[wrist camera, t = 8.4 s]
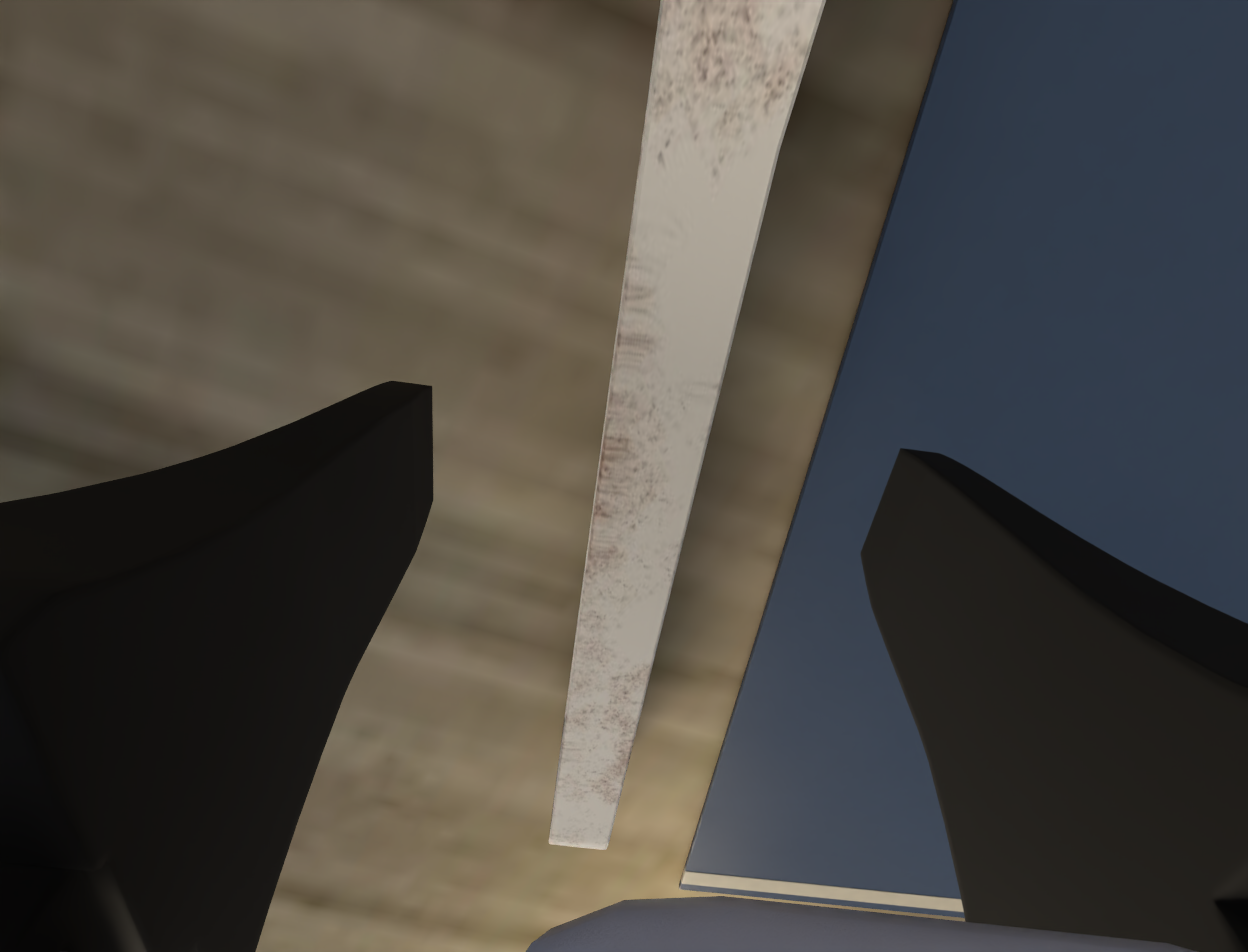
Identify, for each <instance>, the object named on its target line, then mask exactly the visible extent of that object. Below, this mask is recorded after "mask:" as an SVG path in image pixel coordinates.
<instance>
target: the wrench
mask: <svg viewBox="0 0 1248 952" xmlns="http://www.w3.org/2000/svg"><path fill="white" fill-rule="evenodd" d="M825 2H826V0H661V2H660V9H659V17H658V25H657V32H656V40H655V47H654V55H653V63H652V70H651V78H650V85H649V93H648V100H647V108H646V115H645V123H644V130H643V138H642V145H641V153H640V160H639V168H638V175H637V182H636V190H635V197H634V205H633V212H632V220H631V227H630V235H629V242H628V250H627V257H626V264H625V272H624V279H623V287H622V294H621V302H620V309H619V317H618V324H617V331H616V339H615V346H614V354H613V361H612V369H611V376H610V383H609V391H608V398H607V406H606V413H605V421H604V428H603V436H602V443H601V450H600V458H599V465H598V473H597V480H596V488H595V495H594V502H593V510H592V517H591V525H590V532H589V540H588V547H587V555H586V562H585V569H584V577H583V584H582V592H581V599H580V607H579V614H578V622H577V629H576V636H575V644H574V651H573V659H572V666H571V674H570V681H569V688H568V696H567V703H566V711H565V718H564V726H563V733H562V740H561V748H560V756H559V763H558V771H557V779H556V787H555V795H554V803H553V811H552V819H551V827H550V835H549V843H550V844H553V845H563V846H573V847H582V848H592V849H602V850H605V849H606V848H607V847H608V844H609V840H610V836H611V832H612V828H613V824H614V820H615V816H616V812H617V807H618V803H619V799H620V795H621V791H622V787H623V783H624V779H625V775H626V771H627V767H628V763H629V759H630V755H631V751H632V747H633V743H634V739H635V735H636V730H637V726H638V722H639V718H640V714H641V710H642V706H643V702H644V698H645V694H646V690H647V686H648V682H649V678H650V674H651V670H652V666H653V662H654V658H655V653H656V649H657V645H658V641H659V637H660V633H661V629H662V625H663V621H664V617H665V613H666V609H667V605H668V601H669V597H670V593H671V589H672V585H673V581H674V576H675V572H676V568H677V564H678V560H679V556H680V552H681V548H682V544H683V540H684V536H685V532H686V528H687V524H688V520H689V516H690V512H691V508H692V504H693V500H694V495H695V491H696V487H697V483H698V479H699V475H700V471H701V467H702V463H703V459H704V455H705V451H706V447H707V443H708V439H709V435H710V431H711V427H712V423H713V418H714V414H715V410H716V406H717V402H718V398H719V394H720V390H721V386H722V382H723V378H724V374H725V370H726V366H727V362H728V358H729V354H730V350H731V346H732V341H733V337H734V333H735V329H736V325H737V321H738V317H739V313H740V309H741V305H742V301H743V297H744V293H745V289H746V285H747V281H748V277H749V273H750V269H751V264H752V260H753V256H754V252H755V248H756V244H757V240H758V236H759V232H760V228H761V224H762V220H763V216H764V212H765V208H766V204H767V200H768V196H769V192H770V188H771V183H772V179H773V175H774V171H775V167H776V163H777V159H778V155H779V151H780V147H781V144H782V141H783V138H784V134H785V131H786V128H787V125H788V121H789V118H790V115H791V112H792V109H793V105H794V102H795V99H796V96H797V92H798V89H799V86H800V83H801V80H802V76H803V73H804V70H805V67H806V63H807V60H808V57H809V54H810V51H811V47H812V44H813V41H814V38H815V34H816V31H817V28H818V25H819V22H820V18H821V15H822V12H823V9H824V5H825Z"/></svg>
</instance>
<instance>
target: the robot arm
mask: <svg viewBox="0 0 1248 952" xmlns="http://www.w3.org/2000/svg"><path fill="white" fill-rule="evenodd" d="M432 502H433V427H432V386H427V385H420V384H412V383H405V382H397V381H389V382H385V383H382V384H379V385H377V386H374V387H372V388H369V389H367V390H364V391H362V392H360V393H358V394H355V395H353V396H351V397H349V398H347V399H344V400H342V401H340V402H338V403H335V404H333V405H331V406H329V407H327V408H324V409H322V410H320V411H318V412H315V413H313V414H311V415H309V416H306V417H304V418H302V419H300V420H297V421H295V422H293V423H290V424H288V425H285V426H283V427H280V428H278V429H275V430H272V431H270V432H267V433H265V434H262V435H260V436H257V437H255V438H252V439H250V440H247V441H245V442H242V443H240V444H237V445H235V446H232V447H229V448H226V449H223V450H220V451H217V452H214V453H211V454H208V455H205V456H202V457H199V458H196V459H193V460H189V461H186V462H182V463H179V464H176V465H172V466H169V467H165V468H162V469H159V470H155V471H151V472H147V473H144V474H139V475H135V476H131V477H126V478H122V479H117V480H113V481H108V482H104V483H99V484H95V485H91V486H86V487H82V488H77V489H73V490H68V491H64V492H59V493H54V494H49V495H43V496H38V497H32V498H26V499H20V500H14V501H8V502H3V503H0V952H255V951H256V948H257V945H258V942H259V938H260V935H261V932H262V929H263V925H264V922H265V919H266V916H267V913H268V909H269V906H270V903H271V900H272V897H273V894H274V891H275V888H276V885H277V882H278V879H279V876H280V873H281V870H282V867H283V864H284V861H285V858H286V855H287V852H288V849H289V846H290V843H291V840H292V837H293V834H294V831H295V828H296V825H297V822H298V819H299V817H300V814H301V811H302V808H303V805H304V803H305V800H306V797H307V794H308V791H309V789H310V786H311V783H312V780H313V777H314V775H315V772H316V769H317V766H318V763H319V761H320V758H321V755H322V752H323V750H324V747H325V744H326V742H327V739H328V737H329V734H330V731H331V729H332V726H333V723H334V721H335V718H336V715H337V713H338V710H339V708H340V705H341V702H342V700H343V697H344V695H345V692H346V690H347V688H348V685H349V683H350V681H351V679H352V677H353V674H354V672H355V670H356V668H357V666H358V664H359V662H360V660H361V658H362V656H363V654H364V652H365V650H366V648H367V646H368V644H369V642H370V641H371V639H372V637H373V635H374V633H375V631H376V629H377V627H378V625H379V623H380V621H381V619H382V617H383V615H384V613H385V612H386V610H387V608H388V606H389V604H390V602H391V600H392V598H393V596H394V594H395V592H396V590H397V588H398V586H399V584H400V582H401V580H402V578H403V576H404V574H405V572H406V570H407V569H408V567H409V565H410V563H411V560H412V558H413V556H414V554H415V552H416V550H417V547H418V544H419V541H420V539H421V536H422V533H423V530H424V527H425V524H426V521H427V518H428V515H429V512H430V509H431V505H432ZM860 555H861V560H862V565H863V571H864V576H865V582H866V586H867V591H868V595H869V599H870V604H871V608H872V610H873V613H874V616H875V619H876V622H877V624H878V627H879V630H880V633H881V635H882V638H883V641H884V643H885V646H886V649H887V651H888V654H889V656H890V659H891V662H892V664H893V667H894V669H895V672H896V675H897V677H898V680H899V682H900V685H901V687H902V690H903V693H904V695H905V698H906V700H907V703H908V706H909V708H910V711H911V713H912V716H913V719H914V721H915V724H916V726H917V729H918V732H919V735H920V738H921V741H922V744H923V747H924V750H925V753H926V756H927V759H928V762H929V766H930V770H931V774H932V778H933V782H934V786H935V789H936V793H937V797H938V801H939V805H940V809H941V813H942V816H943V820H944V824H945V829H946V833H947V838H948V842H949V846H950V851H951V855H952V860H953V864H954V868H955V873H956V877H957V882H958V886H959V891H960V895H961V901H962V906H963V911H964V916H965V921H966V922H962V921H952V920H943V919H933V918H924V917H914V916H905V915H896V914H886V913H877V912H867V911H858V910H848V909H839V908H829V907H820V906H810V905H801V904H791V903H782V902H772V901H763V900H753V899H744V898H734V897H725V896H716V897H691V898H665V899H640V900H624V901H621V902H618V903H616V904H613V905H611V906H608V907H606V908H603V909H600V910H598V911H595V912H593V913H590V914H587V915H585V916H582V917H580V918H577V919H575V920H572V921H569V922H567V923H564V924H562V925H559V926H556V927H554V928H551V929H550V930H548V931H547V932H546V933H545V934H543V935H542V936H541V937H539V938H538V939H537V940H535V941H534V942H533V943H531V945H530V946H529V948H528V949H527V951H526V952H1248V623H1245V622H1243V621H1241V620H1239V619H1236V618H1234V617H1232V616H1230V615H1228V614H1225V613H1223V612H1221V611H1219V610H1217V609H1214V608H1212V607H1210V606H1208V605H1206V604H1204V603H1202V602H1200V601H1198V600H1196V599H1194V598H1192V597H1190V596H1188V595H1186V594H1184V593H1182V592H1180V591H1178V590H1176V589H1174V588H1172V587H1170V586H1168V585H1166V584H1164V583H1162V582H1160V581H1158V580H1156V579H1154V578H1152V577H1150V576H1148V575H1146V574H1144V573H1142V572H1141V571H1139V570H1137V569H1135V568H1133V567H1131V566H1129V565H1128V564H1126V563H1124V562H1122V561H1121V560H1119V559H1117V558H1115V557H1114V556H1112V555H1110V554H1108V553H1107V552H1105V551H1103V550H1101V549H1100V548H1098V547H1096V546H1094V545H1093V544H1091V543H1089V542H1088V541H1086V540H1084V539H1082V538H1081V537H1079V536H1077V535H1076V534H1074V533H1073V532H1071V531H1069V530H1068V529H1066V528H1064V527H1063V526H1061V525H1059V524H1058V523H1056V522H1055V521H1053V520H1051V519H1050V518H1048V517H1047V516H1045V515H1043V514H1042V513H1040V512H1039V511H1037V510H1036V509H1034V508H1032V507H1031V506H1029V505H1028V504H1026V503H1024V502H1023V501H1021V500H1020V499H1018V498H1017V497H1015V496H1014V495H1012V494H1010V493H1009V492H1007V491H1006V490H1004V489H1002V488H1001V487H999V486H998V485H996V484H995V483H993V482H991V481H990V480H988V479H987V478H985V477H983V476H982V475H980V474H978V473H977V472H975V471H973V470H972V469H970V468H968V467H967V466H965V465H963V464H961V463H959V462H957V461H955V460H954V459H952V458H949V457H947V456H945V455H943V454H940V453H935V452H927V451H920V450H912V449H905V448H900V451H899V453H898V456H897V458H896V461H895V464H894V466H893V469H892V472H891V474H890V477H889V479H888V482H887V485H886V487H885V490H884V493H883V495H882V498H881V500H880V503H879V506H878V508H877V511H876V513H875V516H874V519H873V521H872V524H871V527H870V529H869V532H868V534H867V537H866V540H865V542H864V545H863V548H862V550H861V553H860Z"/></svg>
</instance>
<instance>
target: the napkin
mask: <svg viewBox="0 0 1248 952" xmlns="http://www.w3.org/2000/svg"><path fill="white" fill-rule="evenodd" d="M900 448H905V449H912V450H920V451H927V452H935V453H940V454H943V455H945V456H947V457H949V458H952V459H954V460H955V461H957V462H959V463H961V464H963V465H965V466H967V467H968V468H970V469H972V470H973V471H975V472H977V473H978V474H980V475H982V476H983V477H985V478H987V479H988V480H990V481H991V482H993V483H995V484H996V485H998V486H999V487H1001V488H1002V489H1004V490H1006V491H1007V492H1009V493H1010V494H1012V495H1014V496H1015V497H1017V498H1018V499H1020V500H1021V501H1023V502H1024V503H1026V504H1028V505H1029V506H1031V507H1032V508H1034V509H1036V510H1037V511H1039V512H1040V513H1042V514H1043V515H1045V516H1047V517H1048V518H1050V519H1051V520H1053V521H1055V522H1056V523H1058V524H1059V525H1061V526H1063V527H1064V528H1066V529H1068V530H1069V531H1071V532H1073V533H1074V534H1076V535H1077V536H1079V537H1081V538H1082V539H1084V540H1086V541H1088V542H1089V543H1091V544H1093V545H1094V546H1096V547H1098V548H1100V549H1101V550H1103V551H1105V552H1107V553H1108V554H1110V555H1112V556H1114V557H1115V558H1117V559H1119V560H1121V561H1122V562H1124V563H1126V564H1128V565H1129V566H1131V567H1133V568H1135V569H1137V570H1139V571H1141V572H1142V573H1144V574H1146V575H1148V576H1150V577H1152V578H1154V579H1156V580H1158V581H1160V582H1162V583H1164V584H1166V585H1168V586H1170V587H1172V588H1174V589H1176V590H1178V591H1180V592H1182V593H1184V594H1186V595H1188V596H1190V597H1192V598H1194V599H1196V600H1198V601H1200V602H1202V603H1204V604H1206V605H1208V606H1210V607H1212V608H1214V609H1217V610H1219V611H1221V612H1223V613H1225V614H1228V615H1230V616H1232V617H1234V618H1236V619H1239V620H1241V621H1243V622H1245V623H1248V0H954V1H953V4H952V7H951V11H950V14H949V17H948V20H947V23H946V27H945V30H944V33H943V36H942V39H941V43H940V46H939V49H938V52H937V56H936V59H935V62H934V65H933V68H932V72H931V75H930V78H929V81H928V85H927V88H926V91H925V94H924V97H923V101H922V104H921V107H920V110H919V114H918V117H917V120H916V123H915V126H914V130H913V133H912V136H911V139H910V143H909V146H908V149H907V152H906V155H905V159H904V162H903V165H902V168H901V172H900V175H899V178H898V181H897V184H896V188H895V191H894V194H893V197H892V200H891V204H890V207H889V210H888V213H887V217H886V220H885V223H884V226H883V229H882V233H881V236H880V239H879V242H878V246H877V249H876V252H875V255H874V258H873V262H872V265H871V268H870V271H869V275H868V278H867V281H866V284H865V287H864V291H863V294H862V297H861V300H860V304H859V307H858V310H857V313H856V316H855V320H854V323H853V326H852V329H851V333H850V336H849V339H848V342H847V345H846V349H845V352H844V355H843V358H842V361H841V365H840V368H839V371H838V374H837V378H836V381H835V384H834V387H833V390H832V394H831V397H830V400H829V403H828V407H827V410H826V413H825V416H824V419H823V423H822V426H821V429H820V432H819V436H818V439H817V442H816V445H815V448H814V452H813V455H812V458H811V461H810V465H809V468H808V471H807V474H806V477H805V481H804V484H803V487H802V490H801V494H800V497H799V500H798V503H797V506H796V510H795V513H794V516H793V519H792V522H791V526H790V529H789V532H788V535H787V539H786V542H785V545H784V548H783V551H782V555H781V558H780V561H779V564H778V568H777V571H776V574H775V577H774V580H773V584H772V587H771V590H770V593H769V597H768V600H767V603H766V606H765V609H764V613H763V616H762V619H761V622H760V626H759V629H758V632H757V635H756V638H755V642H754V645H753V648H752V651H751V655H750V658H749V661H748V664H747V667H746V671H745V674H744V677H743V680H742V683H741V687H740V690H739V693H738V696H737V700H736V703H735V706H734V709H733V712H732V716H731V719H730V722H729V725H728V729H727V732H726V735H725V738H724V741H723V745H722V748H721V751H720V754H719V758H718V761H717V764H716V767H715V770H714V774H713V777H712V780H711V783H710V787H709V790H708V793H707V796H706V799H705V803H704V806H703V809H702V812H701V816H700V819H699V822H698V825H697V828H696V832H695V835H694V838H693V841H692V844H691V848H690V851H689V854H688V857H687V861H686V864H685V867H684V870H683V873H682V877H681V880H680V883H679V889H682V890H692V891H702V892H712V893H722V894H732V895H742V896H752V897H762V898H772V899H782V900H792V901H802V902H812V903H822V904H832V905H842V906H852V907H862V908H872V909H882V910H892V911H902V912H912V913H922V914H932V915H942V916H951V917H961V918H965V916H964V911H963V906H962V901H961V895H960V891H959V886H958V882H957V877H956V873H955V868H954V864H953V860H952V855H951V851H950V846H949V842H948V838H947V833H946V829H945V824H944V820H943V816H942V813H941V809H940V805H939V801H938V797H937V793H936V789H935V786H934V782H933V778H932V774H931V770H930V766H929V762H928V759H927V756H926V753H925V750H924V747H923V744H922V741H921V738H920V735H919V732H918V729H917V726H916V724H915V721H914V719H913V716H912V713H911V711H910V708H909V706H908V703H907V700H906V698H905V695H904V693H903V690H902V687H901V685H900V682H899V680H898V677H897V675H896V672H895V669H894V667H893V664H892V662H891V659H890V656H889V654H888V651H887V649H886V646H885V643H884V641H883V638H882V635H881V633H880V630H879V627H878V624H877V622H876V619H875V616H874V613H873V610H872V608H871V604H870V599H869V595H868V591H867V586H866V582H865V576H864V571H863V565H862V560H861V555H860V553H861V550H862V548H863V545H864V542H865V540H866V537H867V534H868V532H869V529H870V527H871V524H872V521H873V519H874V516H875V513H876V511H877V508H878V506H879V503H880V500H881V498H882V495H883V493H884V490H885V487H886V485H887V482H888V479H889V477H890V474H891V472H892V469H893V466H894V464H895V461H896V458H897V456H898V453H899V451H900Z"/></svg>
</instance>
